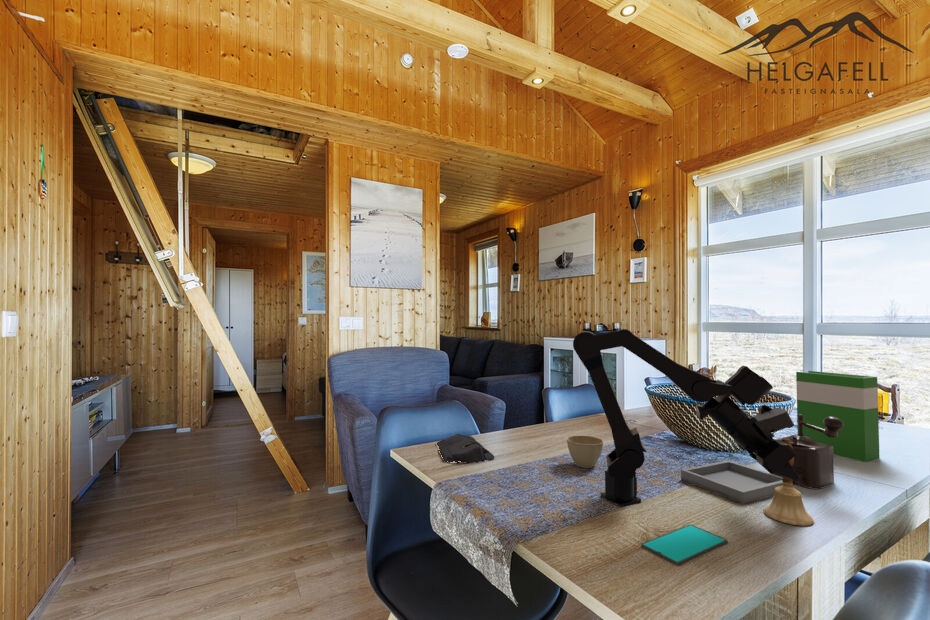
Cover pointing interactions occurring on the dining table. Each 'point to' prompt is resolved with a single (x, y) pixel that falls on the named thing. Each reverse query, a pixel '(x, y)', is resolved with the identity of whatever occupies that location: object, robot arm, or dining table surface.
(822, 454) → the manual coffee grinder
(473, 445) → the dark slate chunk
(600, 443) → the flower pot
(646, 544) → the smartphone
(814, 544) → the dining table surface
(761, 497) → the tray
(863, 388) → the hardback book
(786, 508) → the hand bell
